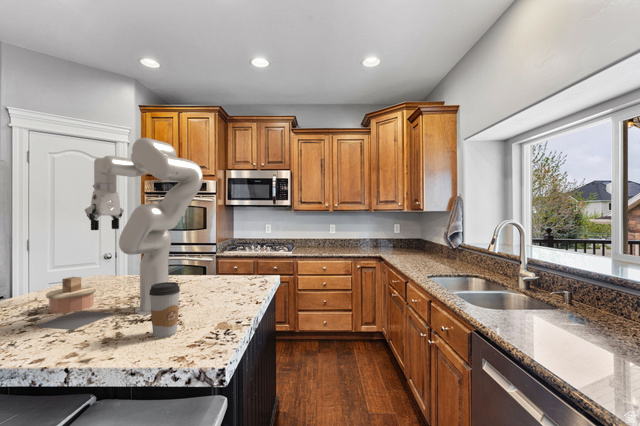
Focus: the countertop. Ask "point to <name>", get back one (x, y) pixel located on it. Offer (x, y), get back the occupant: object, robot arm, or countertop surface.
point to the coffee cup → (164, 308)
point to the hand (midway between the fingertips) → (105, 229)
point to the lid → (70, 289)
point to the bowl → (71, 304)
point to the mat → (74, 320)
